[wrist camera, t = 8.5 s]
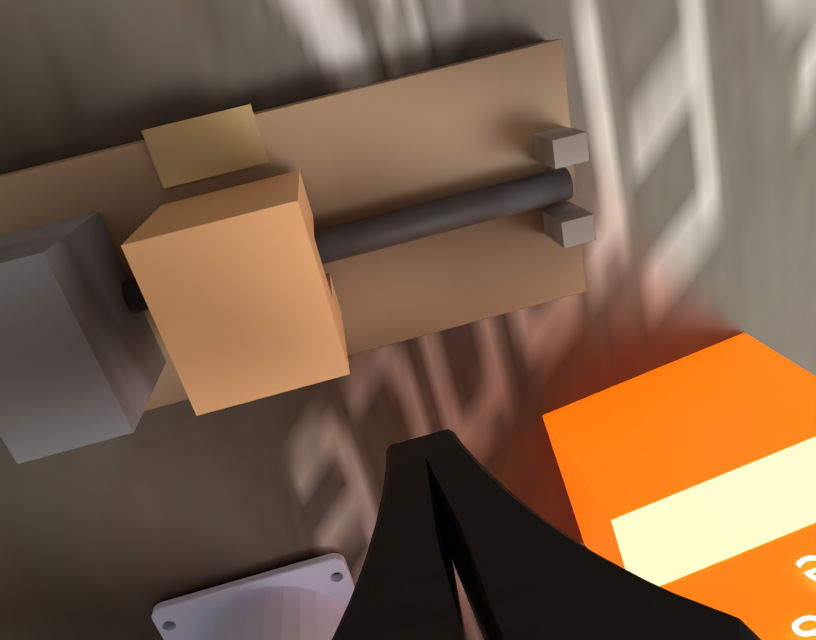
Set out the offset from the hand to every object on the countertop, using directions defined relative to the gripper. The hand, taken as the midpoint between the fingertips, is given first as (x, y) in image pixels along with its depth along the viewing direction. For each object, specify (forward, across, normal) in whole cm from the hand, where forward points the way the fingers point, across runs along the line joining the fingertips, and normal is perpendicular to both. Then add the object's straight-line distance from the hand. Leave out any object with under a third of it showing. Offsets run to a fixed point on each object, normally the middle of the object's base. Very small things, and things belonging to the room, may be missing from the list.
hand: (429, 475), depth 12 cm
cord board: (+9, +2, -3) cm, 10 cm away
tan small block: (+8, +3, -3) cm, 9 cm away
